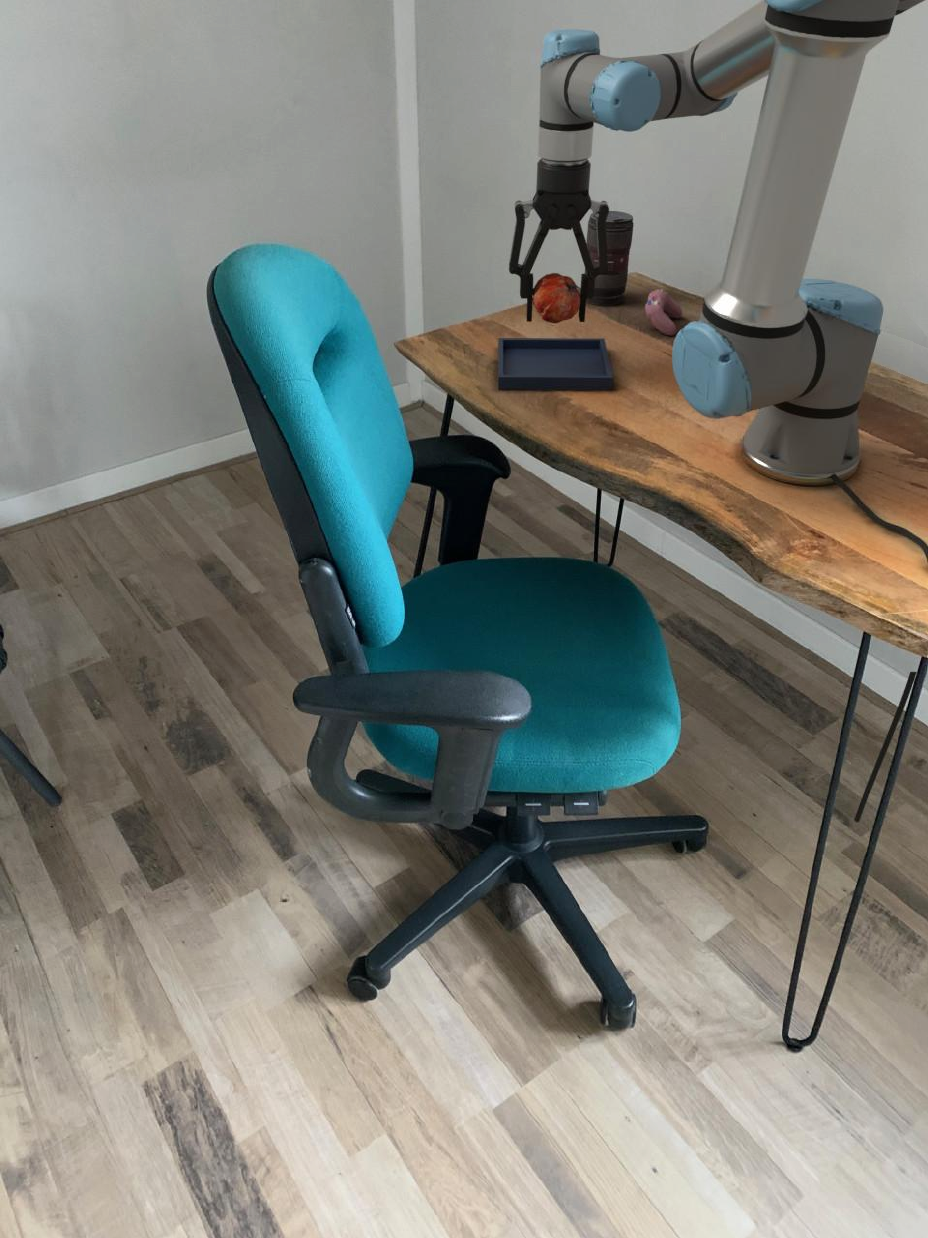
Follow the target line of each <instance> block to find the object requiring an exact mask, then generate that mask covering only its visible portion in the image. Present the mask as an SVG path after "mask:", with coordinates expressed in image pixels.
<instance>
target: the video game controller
mask: <svg viewBox="0 0 928 1238" xmlns="http://www.w3.org/2000/svg"><path fill="white" fill-rule="evenodd" d="M644 311H645V314H646V318H647V319H648V322H649V323H650V324H652V326H653V327H654V329H655V330H658V331H659V332H660V333H662V334H664V335H665V336H670V337H671V336H674V335H675V334H676V332H677V326H676V324H675V323H674V321H672V319H670V318H673V319H680V318H682V316H683V309H682V307H681V306H680V305H679V304H678V302H676V300H674V299H673V298H672V297H671V295H670V293H668V291H667V290H665V289H664V288H661V290H660V289H655V290H652V291H651V292H650V293H649V294H648V297H647V303H646V304H645V305H644ZM669 317H670V318H669Z"/></svg>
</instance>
